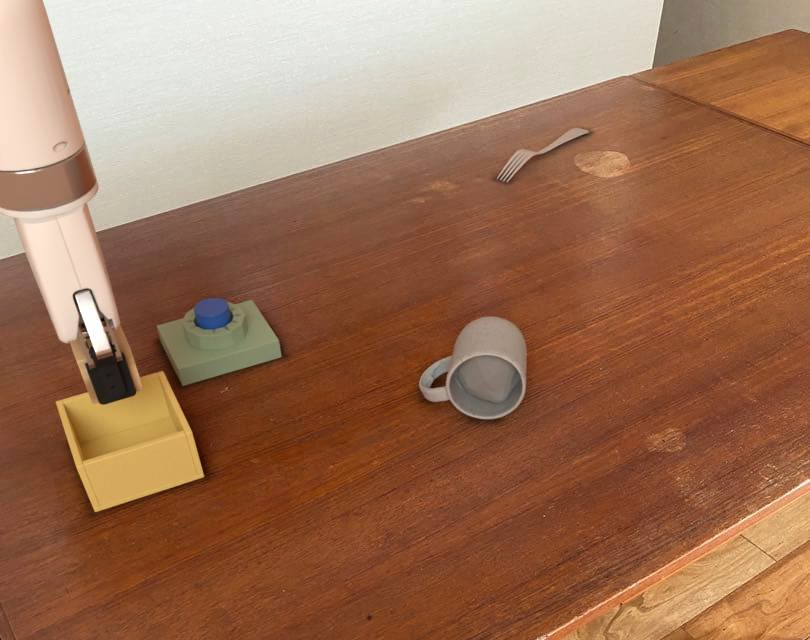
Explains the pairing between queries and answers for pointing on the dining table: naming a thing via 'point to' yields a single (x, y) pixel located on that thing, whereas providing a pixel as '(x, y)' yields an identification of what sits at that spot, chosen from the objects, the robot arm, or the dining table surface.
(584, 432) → the dining table surface
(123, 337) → the block
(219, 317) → the blue short cylinder
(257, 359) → the green socket base
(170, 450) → the bin
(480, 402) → the ceramic mug
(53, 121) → the robot arm
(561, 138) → the fork
